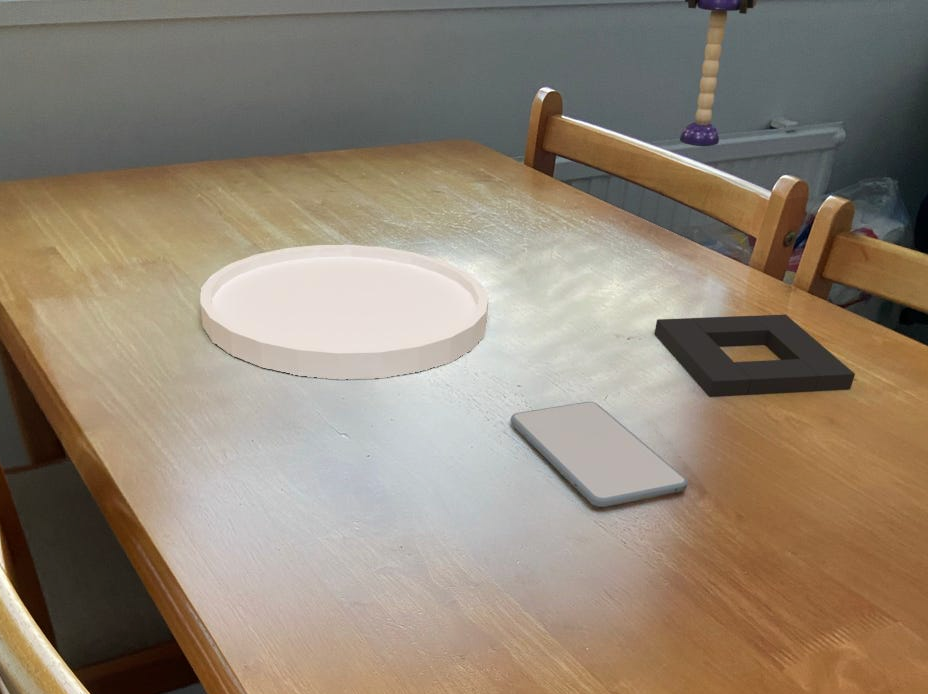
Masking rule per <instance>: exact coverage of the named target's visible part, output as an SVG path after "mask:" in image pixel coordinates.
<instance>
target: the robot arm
mask: <svg viewBox="0 0 928 694" xmlns="http://www.w3.org/2000/svg"><path fill="white" fill-rule="evenodd" d="M684 2H685V3H686V2H687V5H688V7H687V8H688V9H693V10H695V9H696V8H697V7H698V5H697V3H698V0H684ZM757 3H758V0H740V7H739V10H738V12H739V14H741V15H742V14H743V15H747V14H748V10H749V9H754V8H755V6H756V5H757Z"/></svg>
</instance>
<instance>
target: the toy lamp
mask: <svg viewBox="0 0 928 694" xmlns="http://www.w3.org/2000/svg"><path fill="white" fill-rule="evenodd" d="M739 7H740V0H698V3H697V8H698V9H701V10H705V11H706V10H707V11H710V14H709V25H710V26H709V27H708V29H707V34H706V40H707V44H706V45H705V47H704V61H703V62H702V66H701V73H702V74H701V75H702V76H701V78H700V82H699V90H700V92H699V94H698V97H697V107H698V108H697V109H696V112H695V122H692V123H690V124H688V125H686V127H685V128H684V129H683V130H682V132H681V134H680V137H679V141H680V143H683V144H684V145H689V146H694V147H712V146H716V145H718V144H719V142H720V135H719V131H718V129H717V128H716V127H715V125H713V124H711V123H710V122H711V121H712V115H713V111H712V108H713V105H714V103H715V94H714V92H715V91H716V88H717V84H718V83H717V82H718V81H717V75H718V73H719V70H720V57H721V56H722V47H723V46H722V42H723V40H724V37H725V25H726V23H727V20H728V12H734V11H739Z"/></svg>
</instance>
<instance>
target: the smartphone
mask: <svg viewBox="0 0 928 694" xmlns="http://www.w3.org/2000/svg"><path fill="white" fill-rule="evenodd" d="M510 424H511V425H512V426H513V427H514V428H515V429H516V431H518V432H519V433H520V434H521V435H522V436H523V437H524V438H525V439H526V440H527V441H528V442H529V443H530V444H531V445H532V446H533V447H534V448H535V449H536V450H537V451H538V452H539V453H540V454H541V456H543V457H544V458H545V459H546V460H547V461H548V462H549V463H550V464H551V466H553V467H554V468H555V469H556V470H557V471H558V472H559V473H560V474H561V476H563V478H565V479H566V480H567V481H568V482H569V483H570V484H571V485H572V486H573V487H574V488H575V489H576V490H577V491H578V492H579V493H580V494H581V495H582V496H583V497H584V498H585V499H587V501H588V502H589V503H590V504H591V505H593V506H595V507H599V508H600V507H601V508H605V507H611V506H616V505H621V504H626V503H630V502H635V501H640V500H645V499H650V498H657V497H661V496H666V495H671V494H676V493H679V492H681V493H682V492H683V491H685V490H686V489H687V487H688V480H687V478H686V477H685V476H683V475H682V474H681V473H680V471H678V470H676V469H675V468H674V467H673V466H672V465H670V464H669V462H667V461H666V460H665V459H663V458H662V457H661V456H660V455H659V454H658V453H656V451H654V450H653V449H651V448H650V447H649V446H648V445H647V444H646V443H645V442H643V441H642V440H641V439H639V437H638V436H636V435H635V434H634V433H633V432H632V431H631V430H629V429H628V428H627V427H625V425H624V424H622V423H621V422H620V421H618V420H617V419H616V418H615V417H614V416H613V415H611V414H610V413H609V412H608V411H606V410H605V409H604V408H603V407H602V406H601V405H600V404H598V403H596V402H593V401H584V402H578V403H570V404H564V405H558V406H551V407H546V408H539V409H533V410H527V411H521V412H520V411H519V412H516V413H513V414H512V415H511V416H510Z"/></svg>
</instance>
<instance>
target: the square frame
mask: <svg viewBox="0 0 928 694" xmlns="http://www.w3.org/2000/svg"><path fill="white" fill-rule="evenodd" d="M654 336H655V337H656V339H658V341H659V342H660V343H661V344H662V345H663V347H665V348H666V350H667V351H668V352H669V353H670V354H671V356H673V357H674V359H675V360H676V361H677V362H678V363H679V365H681V367H682V368H683V369H684V370H685V371H686V372H687V374H688V375H689V376H690V377H691V378H692V379H693V380H694V382H695V383H696V384H697V385H698V387H700V388H701V389H702V391H703V392H704V393H705V394H706V395H707V396H708V397H709V398H717V397H718V398H720V397H721V398H722V397H738V396H756V395H757V396H758V395H775V394H793V393H794V394H795V393H813V392H831V391H849V390H851V388H852V385H853V382H854V379H855V376H856V373H855V372H853V370H851V369H850V368H849V366H847V365H846V364H844V363H843V362H842V361H841V360H840V359H838V358H837V357H836V356H835V355H834V354H833V353H831V351H829V350H828V349H827V348H826V347H824V345H822V344H821V342H820V341H819V342H818V341H817V340H816V339H815V338H814V336H811V334H809V333H808V332H807V331H806V330H804V328H802V326H800V325H799V324H798V323H797V322H795V321H794V320H793V319H792V318H791V317H790V316H789V315H787V314H766V315H765V314H763V315H761V314H759V315H736V316H735V315H734V316H709V317H708V316H707V317H705V316H704V317H685V318H684V317H682V318H659V319H656V323H655V327H654ZM752 346H765V347H766V348H767V349H768V350H769V351H771V353H773V354H774V355H775V356H776V357H777V358H778V359H772V360H771V359H770V360H750V361H734V360H733V359H732V358H731V357H730V356H729V355H727V353H726V352H725V351H724V350H723V349H722V348H728V347H729V348H730V347H731V348H733V347H752Z"/></svg>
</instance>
